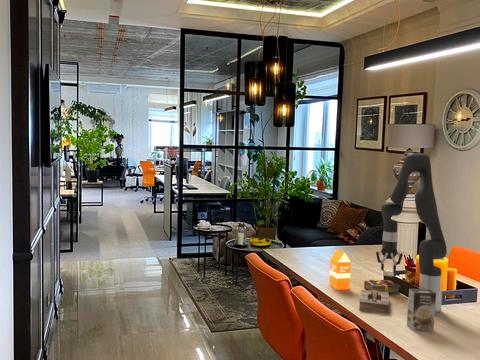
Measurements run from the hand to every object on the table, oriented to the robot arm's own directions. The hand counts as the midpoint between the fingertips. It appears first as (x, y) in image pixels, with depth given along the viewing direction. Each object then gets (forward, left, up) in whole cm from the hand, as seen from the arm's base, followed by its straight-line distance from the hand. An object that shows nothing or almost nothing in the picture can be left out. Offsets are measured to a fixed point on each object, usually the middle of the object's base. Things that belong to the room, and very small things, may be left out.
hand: (388, 271), depth 253 cm
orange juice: (+18, +18, -10) cm, 27 cm away
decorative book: (0, +5, -10) cm, 11 cm away
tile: (-2, +3, -1) cm, 3 cm away
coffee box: (-39, +39, -10) cm, 56 cm away
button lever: (-9, +27, -8) cm, 30 cm away
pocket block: (-11, +29, -10) cm, 32 cm away
